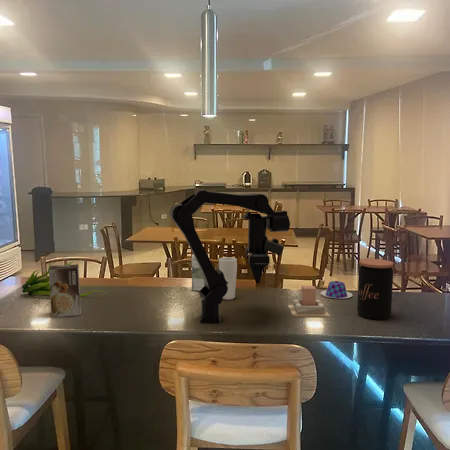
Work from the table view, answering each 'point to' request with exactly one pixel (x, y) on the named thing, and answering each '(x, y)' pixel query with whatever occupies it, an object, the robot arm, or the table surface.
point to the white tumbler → (229, 275)
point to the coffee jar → (375, 289)
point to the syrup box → (196, 275)
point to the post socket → (308, 309)
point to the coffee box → (64, 290)
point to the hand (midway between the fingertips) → (256, 279)
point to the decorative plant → (42, 284)
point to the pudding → (336, 290)
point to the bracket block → (308, 296)
